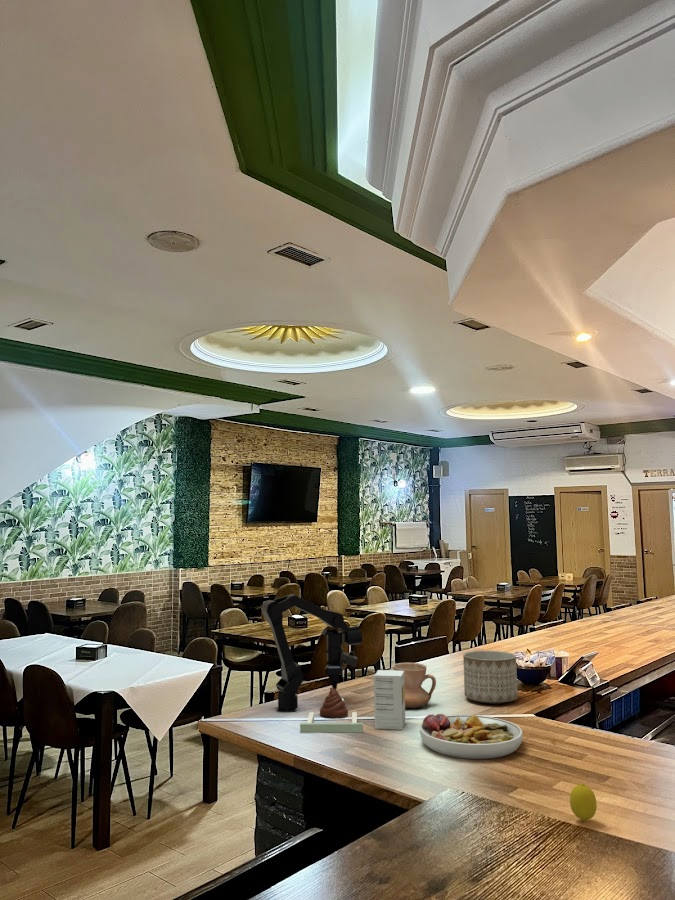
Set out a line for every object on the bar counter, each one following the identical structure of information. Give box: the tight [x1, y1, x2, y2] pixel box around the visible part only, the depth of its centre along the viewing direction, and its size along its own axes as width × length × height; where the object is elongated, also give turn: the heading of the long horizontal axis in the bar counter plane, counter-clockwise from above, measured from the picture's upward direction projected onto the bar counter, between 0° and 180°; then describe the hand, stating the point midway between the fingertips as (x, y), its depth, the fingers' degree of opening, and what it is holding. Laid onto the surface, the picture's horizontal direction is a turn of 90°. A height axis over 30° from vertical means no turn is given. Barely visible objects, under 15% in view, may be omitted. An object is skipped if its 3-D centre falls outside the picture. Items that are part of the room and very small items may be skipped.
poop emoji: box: [319, 687, 349, 719], centre depth 236 cm, size 10×8×9 cm
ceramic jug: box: [392, 662, 437, 709], centre depth 247 cm, size 18×14×14 cm
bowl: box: [419, 713, 523, 760], centre depth 202 cm, size 30×30×8 cm
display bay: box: [299, 711, 364, 734], centre depth 223 cm, size 20×14×2 cm
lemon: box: [569, 782, 598, 823], centre depth 149 cm, size 6×6×8 cm
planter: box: [462, 650, 519, 705], centre depth 254 cm, size 19×19×16 cm
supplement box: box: [373, 669, 406, 731], centre depth 223 cm, size 10×9×17 cm
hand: (334, 689), depth 251 cm, fingers closed
